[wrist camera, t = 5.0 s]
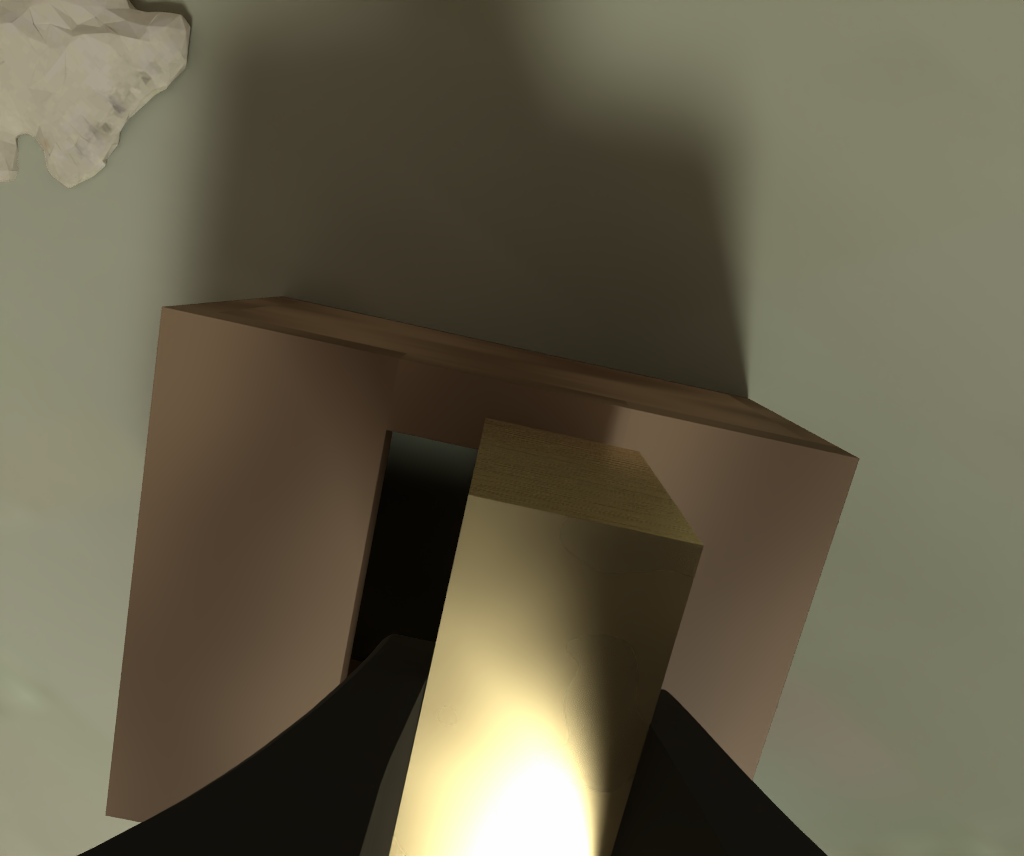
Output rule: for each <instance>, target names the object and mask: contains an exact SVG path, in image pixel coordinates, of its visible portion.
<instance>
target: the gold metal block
mask: <svg viewBox="0 0 1024 856" xmlns="http://www.w3.org/2000/svg"><path fill="white" fill-rule="evenodd" d="M703 547H704V545H703V544H702V542H701V541H700V539H699V538H698V536H697V535H696V533H695V532H694V531H693V529H692V528H691V526H690V525H689V523H688V522H687V520H686V519H685V517H684V516H683V515H682V513H681V512H680V510H679V509H678V507H677V506H676V504H675V503H674V501H673V500H672V498H671V497H670V496H669V494H668V493H667V491H666V490H665V488H664V487H663V485H662V484H661V482H660V481H659V479H658V478H657V477H656V475H655V474H654V472H653V471H652V469H651V468H650V466H649V465H648V463H647V462H646V461H645V459H644V458H643V456H642V455H641V453H640V452H639V451H634V450H630V449H625V448H621V447H616V446H612V445H607V444H602V443H598V442H593V441H589V440H584V439H580V438H575V437H571V436H566V435H562V434H557V433H553V432H548V431H544V430H539V429H535V428H530V427H525V426H521V425H516V424H512V423H507V422H503V421H498V420H494V419H489V418H486V419H485V424H484V428H483V433H482V437H481V441H480V446H479V450H478V455H477V459H476V464H475V468H474V473H473V477H472V482H471V486H470V490H469V495H468V499H467V504H466V509H465V513H464V518H463V522H462V527H461V531H460V536H459V540H458V545H457V549H456V554H455V558H454V563H453V568H452V572H451V577H450V581H449V586H448V590H447V595H446V599H445V604H444V608H443V613H442V618H441V622H440V627H439V631H438V636H437V640H436V645H435V649H434V654H433V658H432V663H431V667H430V672H429V677H428V681H427V686H426V690H425V695H424V699H423V704H422V708H421V713H420V717H419V722H418V727H417V731H416V736H415V740H414V745H413V749H412V754H411V758H410V763H409V767H408V772H407V776H406V781H405V786H404V790H403V795H402V799H401V804H400V808H399V813H398V817H397V822H396V826H395V831H394V835H393V840H392V845H391V849H390V854H389V856H611V853H612V850H613V847H614V843H615V840H616V836H617V833H618V830H619V826H620V823H621V820H622V816H623V813H624V809H625V806H626V803H627V799H628V796H629V793H630V789H631V786H632V782H633V779H634V776H635V772H636V769H637V766H638V762H639V759H640V755H641V752H642V749H643V745H644V742H645V739H646V735H647V732H648V728H649V725H650V724H651V721H652V717H653V714H654V711H655V707H656V704H657V701H658V697H659V694H660V691H661V687H662V684H663V681H664V677H665V674H666V671H667V667H668V664H669V661H670V657H671V654H672V650H673V647H674V644H675V640H676V637H677V634H678V630H679V627H680V624H681V620H682V617H683V614H684V610H685V607H686V604H687V600H688V597H689V594H690V590H691V587H692V584H693V580H694V577H695V574H696V570H697V567H698V564H699V560H700V557H701V553H702V550H703Z"/></svg>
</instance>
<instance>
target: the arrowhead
mask: <svg viewBox="0 0 1024 856" xmlns="http://www.w3.org/2000/svg"><path fill="white" fill-rule="evenodd" d="M95 17H97V18H95ZM33 23H34V24H33ZM190 28H191V27H190V25H189V24H188V22H187V21H186V20H185V18H184V17H183V16H182V15H180V14H176V13H168V12H144V11H139V10H137V9H136V8H135V7H134V6H133V5H132V4H131V2H130V1H129V0H0V181H1V182H8V181H13V180H15V178H16V175H17V174H18V143H17V138H18V137H19V136H20V134H26V133H28V134H29V135H31V136H33V137H35V139H36V140H37V142H38V143H39V144H40V146H41V147H42V148H43V150H44V154H45V159H46V165H47V169H48V170H49V172H50V174H51V175H52V177H54V178H55V179H56V180H58V181H59V182H61V183H62V184H63V185H65V186H66V187H68V188H71V187H73V186H75V185H77V184H79V183H81V182H83V181H85V180H87V179H89V178H91V177H93V176H94V175H95V174H97V173H98V172H99V171H100V170H101V169H102V168H104V167H105V166H106V162H107V158H108V157H109V155H110V154H111V153H112V152H113V150H114V149H115V148H116V147H117V145H118V143H119V138H120V134H121V129H122V128H123V126H124V125H125V123H126V122H127V121H128V119H130V118H131V117H132V116H133V115H134V114H135V113H136V112H137V111H138V110H139V109H140V108H142V107H143V106H144V105H145V104H146V103H147V102H148V101H149V100H150V99H151V98H152V97H153V96H154V95H156V94H157V93H159V92H161V91H164V90H166V89H167V87H168V85H169V84H170V83H171V82H172V81H173V80H174V79H175V78H176V77H177V76H178V75H179V74H180V73H181V72H183V71H184V70H185V67H186V63H187V54H188V46H189V37H190ZM105 122H106V123H105ZM14 138H15V139H14Z"/></svg>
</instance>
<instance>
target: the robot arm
mask: <svg viewBox="0 0 1024 856" xmlns="http://www.w3.org/2000/svg"><path fill="white" fill-rule="evenodd" d="M435 645H436V642H431V641H426V640H421V639H416V638H412V637H407V636H402V635H397V634H391V635H390V636H388V637H386V638H385V639H383V640H382V641H381V642H380V644H379V645H378V646H377V647H376V648H375V649H374V651H373V652H372V653H371V654H370V655H369V656H368V657H367V658H366V659H365V660H364V661H363V662H362V663H361V664H360V665H359V666H358V667H357V668H356V669H355V670H354V671H353V672H352V673H351V674H350V675H349V676H348V677H347V678H346V679H345V680H344V681H343V682H342V683H341V684H339V685H338V686H337V687H336V688H335V689H334V690H333V691H331V692H330V693H329V694H328V695H327V696H326V697H325V698H324V699H322V700H321V701H320V702H319V703H318V704H317V705H316V706H315V707H313V708H312V709H311V710H310V711H309V712H307V713H306V714H305V715H304V716H303V717H301V718H300V719H299V720H297V721H296V722H295V723H294V724H292V725H291V726H290V727H288V728H287V729H286V730H284V731H283V732H282V733H281V734H279V735H278V736H277V737H275V738H274V739H273V740H271V741H270V742H269V743H268V744H266V745H265V746H264V747H262V748H261V749H260V750H258V751H257V752H255V753H254V754H253V755H251V756H250V757H248V758H247V759H245V760H244V761H243V762H241V763H240V764H238V765H237V766H235V767H234V768H232V769H231V770H229V771H228V772H226V773H225V774H223V775H222V776H220V777H219V778H217V779H215V780H214V781H212V782H211V783H209V784H207V785H206V786H204V787H203V788H201V789H199V790H198V791H196V792H195V793H193V794H192V795H190V796H188V797H187V798H185V799H183V800H182V801H180V802H178V803H176V804H175V805H173V806H171V807H169V808H167V809H166V810H164V811H162V812H160V813H158V814H157V815H155V816H153V817H151V818H149V819H148V820H146V821H144V822H142V823H140V824H138V825H136V826H134V827H132V828H130V829H128V830H127V831H125V832H123V833H121V834H119V835H117V836H115V837H113V838H111V839H109V840H107V841H106V842H104V843H102V844H100V845H98V846H96V847H94V848H92V849H90V850H88V851H86V852H84V853H82V854H79V855H77V856H389V854H390V849H391V845H392V840H393V835H394V831H395V826H396V822H397V817H398V813H399V808H400V804H401V799H402V795H403V790H404V786H405V781H406V776H407V772H408V767H409V763H410V758H411V754H412V749H413V745H414V740H415V736H416V731H417V727H418V722H419V717H420V713H421V708H422V704H423V699H424V695H425V690H426V686H427V681H428V677H429V672H430V667H431V663H432V658H433V654H434V649H435ZM611 856H827V855H826V854H825V853H824V852H823V851H822V850H821V849H820V848H819V847H818V846H817V845H816V844H815V843H814V842H813V841H812V840H811V839H810V838H809V837H807V836H806V835H805V834H804V833H803V832H802V831H801V830H800V829H799V828H798V827H797V826H796V825H795V824H794V823H793V822H792V821H791V820H790V819H789V818H788V817H787V816H786V815H785V814H784V813H783V812H782V811H781V810H780V809H779V808H778V807H777V806H776V805H775V804H774V803H773V802H772V801H771V800H770V799H769V798H768V797H767V796H766V795H765V794H764V793H763V791H762V790H761V789H760V788H759V787H758V786H757V785H756V784H755V783H754V782H753V781H752V780H751V779H750V778H749V777H748V776H747V775H746V774H745V773H744V771H743V770H742V769H741V768H740V767H739V766H738V765H737V764H736V763H735V762H734V761H733V760H732V759H731V757H730V756H729V755H728V754H727V753H726V752H725V751H724V750H723V749H722V748H721V747H720V746H719V744H718V743H717V742H716V741H715V740H714V739H713V738H712V737H711V736H710V735H709V734H708V732H707V731H706V730H705V729H704V728H703V727H702V726H701V725H700V724H699V723H698V722H697V721H696V719H695V718H694V717H693V716H692V715H691V714H690V713H689V712H688V711H687V710H686V709H685V708H684V707H683V706H682V705H681V704H680V703H679V702H678V701H677V700H676V699H675V698H674V697H673V696H672V695H671V694H670V693H669V692H668V691H667V690H664V689H661V691H660V694H659V697H658V701H657V704H656V707H655V711H654V714H653V717H652V721H651V724H650V725H649V728H648V732H647V735H646V739H645V742H644V745H643V749H642V752H641V755H640V759H639V762H638V766H637V769H636V772H635V776H634V779H633V782H632V786H631V789H630V793H629V796H628V799H627V803H626V806H625V809H624V813H623V816H622V820H621V823H620V826H619V830H618V833H617V836H616V840H615V843H614V847H613V850H612V853H611Z"/></svg>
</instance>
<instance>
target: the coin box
mask: <svg viewBox="0 0 1024 856" xmlns="http://www.w3.org/2000/svg"><path fill="white" fill-rule="evenodd" d="M486 418H489V419H494V420H498V421H503V422H507V423H512V424H516V425H521V426H525V427H530V428H535V429H539V430H544V431H548V432H553V433H557V434H562V435H566V436H571V437H575V438H580V439H584V440H589V441H593V442H598V443H602V444H607V445H612V446H616V447H621V448H625V449H630V450H634V451H639V452H640V453H641V455H642V456H643V458H644V459H645V461H646V462H647V463H648V465H649V466H650V468H651V469H652V471H653V472H654V474H655V475H656V477H657V478H658V479H659V481H660V482H661V484H662V485H663V487H664V488H665V490H666V491H667V493H668V494H669V496H670V497H671V498H672V500H673V501H674V503H675V504H676V506H677V507H678V509H679V510H680V512H681V513H682V515H683V516H684V517H685V519H686V520H687V522H688V523H689V525H690V526H691V528H692V529H693V531H694V532H695V533H696V535H697V536H698V538H699V539H700V541H701V542H702V544H703V545H704V547H703V550H702V553H701V557H700V560H699V564H698V567H697V570H696V574H695V577H694V580H693V584H692V587H691V590H690V594H689V597H688V600H687V604H686V607H685V610H684V614H683V617H682V620H681V624H680V627H679V630H678V634H677V637H676V640H675V644H674V647H673V650H672V654H671V657H670V661H669V664H668V667H667V671H666V674H665V677H664V681H663V684H662V687H661V689H664V690H667V691H668V692H669V693H670V694H671V695H672V696H673V697H674V698H675V699H676V700H677V701H678V702H679V703H680V704H681V705H682V706H683V707H684V708H685V709H686V710H687V711H688V712H689V713H690V714H691V715H692V716H693V717H694V718H695V719H696V721H697V722H698V723H699V724H700V725H701V726H702V727H703V728H704V729H705V730H706V731H707V732H708V734H709V735H710V736H711V737H712V738H713V739H714V740H715V741H716V742H717V743H718V744H719V746H720V747H721V748H722V749H723V750H724V751H725V752H726V753H727V754H728V755H729V756H730V757H731V759H732V760H733V761H734V762H735V763H736V764H737V765H738V766H739V767H740V768H741V769H742V770H743V771H744V773H745V774H746V775H747V776H748V777H749V778H750V779H751V780H753V777H754V774H755V771H756V768H757V765H758V762H759V759H760V756H761V753H762V750H763V747H764V744H765V741H766V738H767V735H768V732H769V729H770V726H771V723H772V720H773V717H774V714H775V711H776V708H777V705H778V702H779V699H780V696H781V693H782V690H783V687H784V684H785V681H786V678H787V675H788V672H789V669H790V666H791V663H792V660H793V657H794V654H795V651H796V648H797V645H798V642H799V639H800V636H801V633H802V630H803V627H804V624H805V621H806V618H807V615H808V612H809V609H810V606H811V603H812V600H813V597H814V594H815V591H816V588H817V585H818V582H819V579H820V576H821V573H822V570H823V567H824V564H825V561H826V558H827V555H828V552H829V549H830V545H831V542H832V539H833V536H834V533H835V530H836V527H837V524H838V521H839V518H840V515H841V512H842V509H843V506H844V503H845V500H846V497H847V494H848V491H849V488H850V485H851V482H852V479H853V476H854V473H855V470H856V467H857V464H858V461H859V458H857V457H856V456H854V455H852V454H850V453H848V452H846V451H844V450H843V449H841V448H839V447H837V446H835V445H833V444H832V443H830V442H828V441H826V440H824V439H822V438H820V437H819V436H817V435H815V434H813V433H811V432H809V431H808V430H806V429H804V428H802V427H800V426H798V425H796V424H795V423H793V422H791V421H789V420H787V419H785V418H784V417H782V416H780V415H778V414H776V413H774V412H772V411H771V410H769V409H767V408H765V407H763V406H761V405H760V404H758V403H756V402H754V401H752V400H750V399H747V398H743V397H738V396H734V395H729V394H724V393H720V392H715V391H711V390H706V389H702V388H697V387H692V386H688V385H683V384H679V383H674V382H670V381H665V380H661V379H656V378H651V377H647V376H642V375H638V374H633V373H629V372H624V371H619V370H615V369H610V368H606V367H601V366H597V365H592V364H588V363H583V362H578V361H574V360H569V359H565V358H560V357H556V356H551V355H546V354H542V353H537V352H533V351H528V350H524V349H519V348H515V347H510V346H505V345H501V344H496V343H492V342H487V341H483V340H478V339H473V338H469V337H464V336H460V335H455V334H451V333H446V332H442V331H437V330H432V329H428V328H423V327H419V326H414V325H410V324H405V323H400V322H396V321H391V320H387V319H382V318H378V317H373V316H369V315H364V314H359V313H355V312H350V311H346V310H341V309H337V308H332V307H327V306H323V305H318V304H314V303H309V302H305V301H300V300H296V299H291V298H286V297H270V298H259V299H247V300H236V301H224V302H213V303H201V304H190V305H178V306H166V307H162V312H161V321H160V330H159V339H158V348H157V357H156V366H155V375H154V384H153V393H152V402H151V411H150V420H149V429H148V438H147V447H146V456H145V465H144V474H143V483H142V492H141V501H140V510H139V519H138V528H137V537H136V546H135V555H134V564H133V573H132V582H131V591H130V600H129V609H128V618H127V627H126V636H125V645H124V654H123V663H122V672H121V681H120V690H119V699H118V708H117V717H116V726H115V735H114V744H113V753H112V762H111V771H110V780H109V789H108V798H107V807H106V816H111V817H116V818H122V819H127V820H132V821H137V822H144V821H146V820H148V819H149V818H151V817H153V816H155V815H157V814H158V813H160V812H162V811H164V810H166V809H167V808H169V807H171V806H173V805H175V804H176V803H178V802H180V801H182V800H183V799H185V798H187V797H188V796H190V795H192V794H193V793H195V792H196V791H198V790H199V789H201V788H203V787H204V786H206V785H207V784H209V783H211V782H212V781H214V780H215V779H217V778H219V777H220V776H222V775H223V774H225V773H226V772H228V771H229V770H231V769H232V768H234V767H235V766H237V765H238V764H240V763H241V762H243V761H244V760H245V759H247V758H248V757H250V756H251V755H253V754H254V753H255V752H257V751H258V750H260V749H261V748H262V747H264V746H265V745H266V744H268V743H269V742H270V741H271V740H273V739H274V738H275V737H277V736H278V735H279V734H281V733H282V732H283V731H284V730H286V729H287V728H288V727H290V726H291V725H292V724H294V723H295V722H296V721H297V720H299V719H300V718H301V717H303V716H304V715H305V714H306V713H307V712H309V711H310V710H311V709H312V708H313V707H315V706H316V705H317V704H318V703H319V702H320V701H321V700H322V699H324V698H325V697H326V696H327V695H328V694H329V693H330V692H331V691H333V690H334V689H335V688H336V687H337V686H338V685H339V684H341V683H342V682H343V681H344V680H345V679H346V678H347V677H348V676H349V675H350V674H351V673H352V672H353V671H354V670H355V669H356V668H357V667H358V666H359V665H360V664H361V663H362V661H357V660H352V659H350V657H351V652H352V647H353V641H354V636H355V630H356V625H357V620H358V614H359V609H360V604H361V598H362V593H363V587H364V582H365V577H366V571H367V566H368V561H369V555H370V550H371V544H372V539H373V534H374V528H375V523H376V518H377V512H378V507H379V501H380V496H381V491H382V485H383V480H384V475H385V469H386V464H387V458H388V453H389V448H390V442H391V437H392V432H393V431H394V432H399V433H403V434H408V435H413V436H417V437H422V438H427V439H431V440H436V441H441V442H445V443H450V444H455V445H459V446H464V447H469V448H473V449H478V450H479V446H480V441H481V437H482V433H483V428H484V424H485V419H486Z"/></svg>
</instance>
